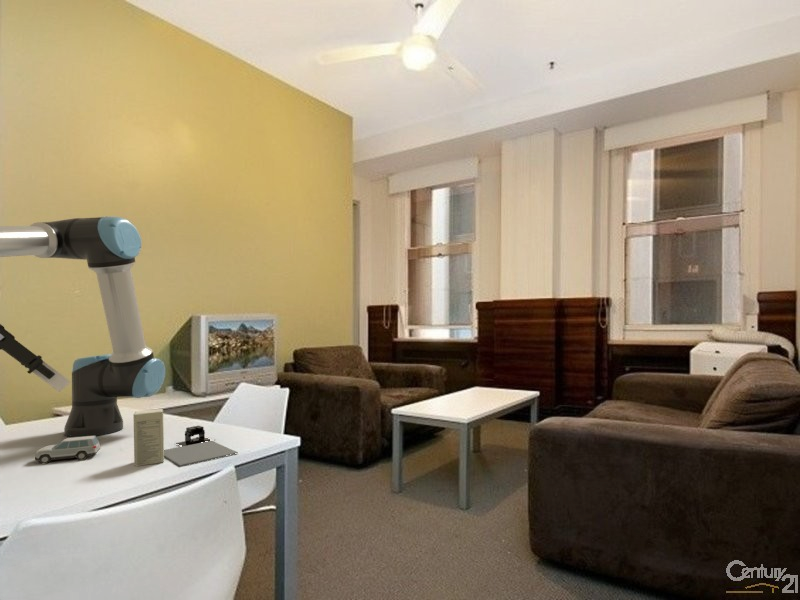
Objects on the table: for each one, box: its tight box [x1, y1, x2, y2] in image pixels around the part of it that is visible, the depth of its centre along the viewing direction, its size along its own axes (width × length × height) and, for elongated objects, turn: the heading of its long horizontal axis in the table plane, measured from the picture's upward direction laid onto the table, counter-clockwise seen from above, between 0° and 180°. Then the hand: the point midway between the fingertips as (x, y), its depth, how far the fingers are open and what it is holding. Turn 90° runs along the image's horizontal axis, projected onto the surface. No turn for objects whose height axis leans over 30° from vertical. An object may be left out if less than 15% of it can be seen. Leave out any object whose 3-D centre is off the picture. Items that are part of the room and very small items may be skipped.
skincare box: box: [133, 408, 165, 467], centre depth 112 cm, size 6×4×12 cm
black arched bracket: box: [175, 425, 210, 446], centre depth 130 cm, size 12×7×5 cm, turn 138°
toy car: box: [34, 435, 101, 464], centre depth 115 cm, size 6×13×5 cm, turn 111°
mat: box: [164, 440, 239, 468], centre depth 119 cm, size 16×14×1 cm
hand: (62, 385), depth 100 cm, fingers open, 4 cm apart
